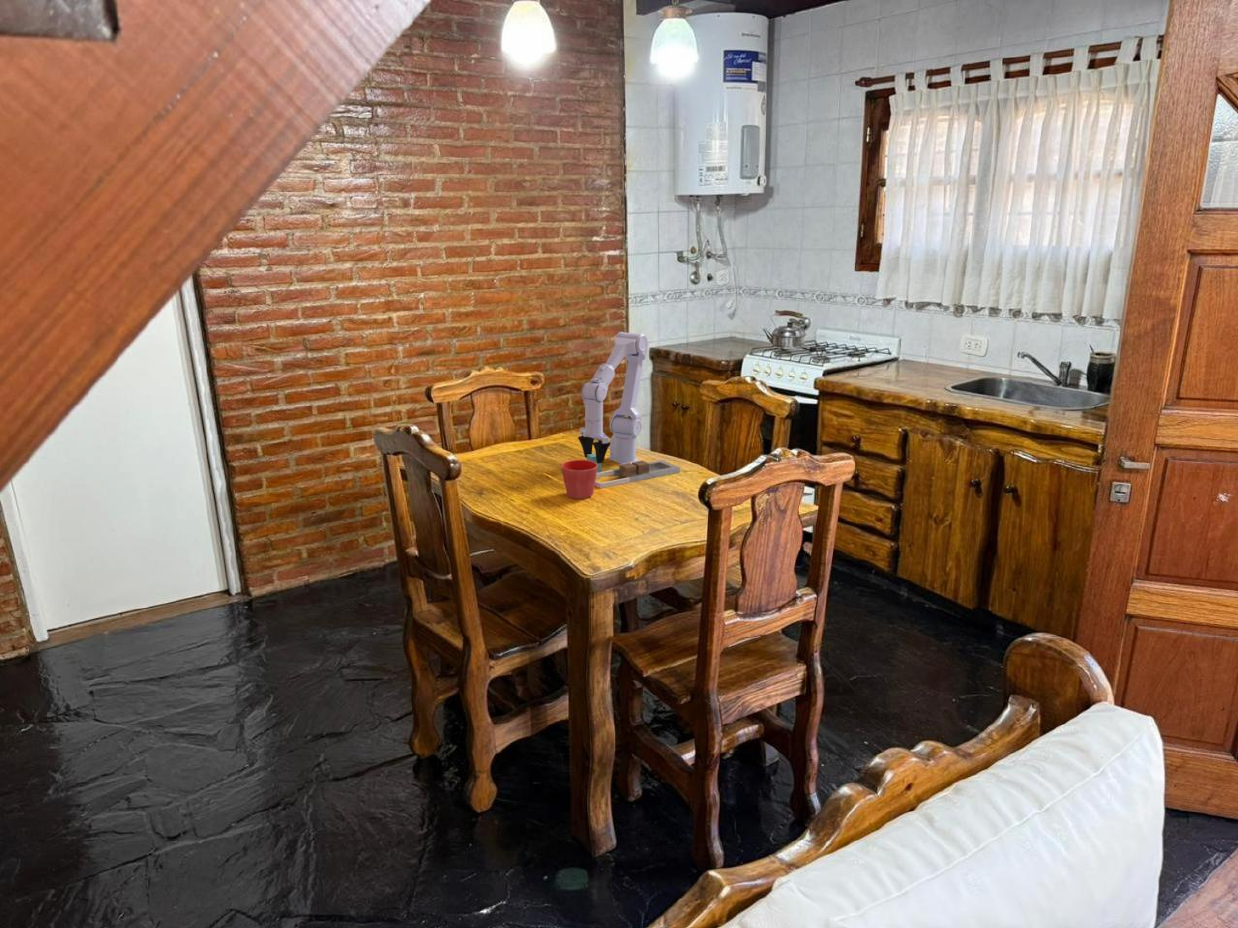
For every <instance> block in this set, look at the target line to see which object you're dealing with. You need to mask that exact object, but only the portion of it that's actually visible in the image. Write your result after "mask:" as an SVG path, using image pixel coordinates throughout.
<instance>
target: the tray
mask: <svg viewBox="0 0 1238 928" xmlns="http://www.w3.org/2000/svg"><path fill="white" fill-rule="evenodd" d="M611 476H615V475H614V470H613V469H612V470H607V471H602V472H600V473H597V474H596V479H600V478H605V477H611ZM624 484H631V482H630V478H629V477H628V478H623V479H621V478H619V479H614V480H609V481H604V482H600V481H598V480H595V485H594V487H596V488H599V489H606V488H610V487H614V486H620V485H624Z"/></svg>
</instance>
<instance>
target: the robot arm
mask: <svg viewBox="0 0 1238 928" xmlns="http://www.w3.org/2000/svg"><path fill="white" fill-rule="evenodd" d="M613 346H614V347H613V350H612V351H611V353H610V355H609V356H608V358H607V360H606V362H605V363H604V364H601V365H599V367H598V368H597V370H596V372H595V373H594V375H593V376H592V377H591V379H590V381H587V382H586V383H584V384H583V386H582V389H581V392H580V395H581V398H582V400H583V401H582V402H583V405H584V414H585V415H584V422H585V423H584V425H585V426H584V427H581V428H580V429H579V434H580V435H581V436H578V438H577V439H578V441H579V442H580V445H581V448H582V452H583V456H584V458H585V459H587V455H588V454H593V448H594V451H595V453H596V460H597V463H602V464H604V461H605V459H606V458H605V457H606V454H607V451H608V449H609V456H607V459H608V460H611V461H614V462H615V463H617V464H619V465H620V464H626V463H631V464H632V462H636V461H642V460H641V459H640V458H639V459H638V458H637V437H638V436H640V433H641V431H642V426H643V425H642V415H641V413H640V412H639V411H638V410H637V409H636V408H637V402H638V398H639V397H638V396H639V391H640V385H641V381H642V375H643V367H644V362H645V360H646V359H647V355H648V347H649V340H648V338H647V336H646V334H645V333H636V332H635V333H633V332H625V331H619V332H618V333H617V334H616V337H614V340H613ZM624 358H625V359H626V361H627V366H626V371H625V373H626V374H625V378H624V383H623V390H622V397H621V401H620V406H619V407H618V408H616V409H615V410H614V411H613V414H612V417H611V419H610V422H609V428H610V432H611V433H612V434H613V435H612V436H611V438H609V436H607V435H606V434H605V432H604V429H603V428H604V400H606V397H607V395H608V390H609V386H610V384H611V383H612V381H613V379H614V378H615V376H616V372H615V370H616V368H617V367H618V366H619V365H620V363H621V362H622V361H623V360H624ZM609 439H610V440H609ZM595 440H596V442H595Z"/></svg>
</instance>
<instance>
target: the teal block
mask: <svg viewBox="0 0 1238 928" xmlns="http://www.w3.org/2000/svg"><path fill="white" fill-rule="evenodd" d="M586 460H588V461H592V462H595V463H596V464H597V465H598V468H597V473H600V472H603V470H602V464H603V463H597V460H596V452H595V453H592V454H588V455H587V458H586Z"/></svg>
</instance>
